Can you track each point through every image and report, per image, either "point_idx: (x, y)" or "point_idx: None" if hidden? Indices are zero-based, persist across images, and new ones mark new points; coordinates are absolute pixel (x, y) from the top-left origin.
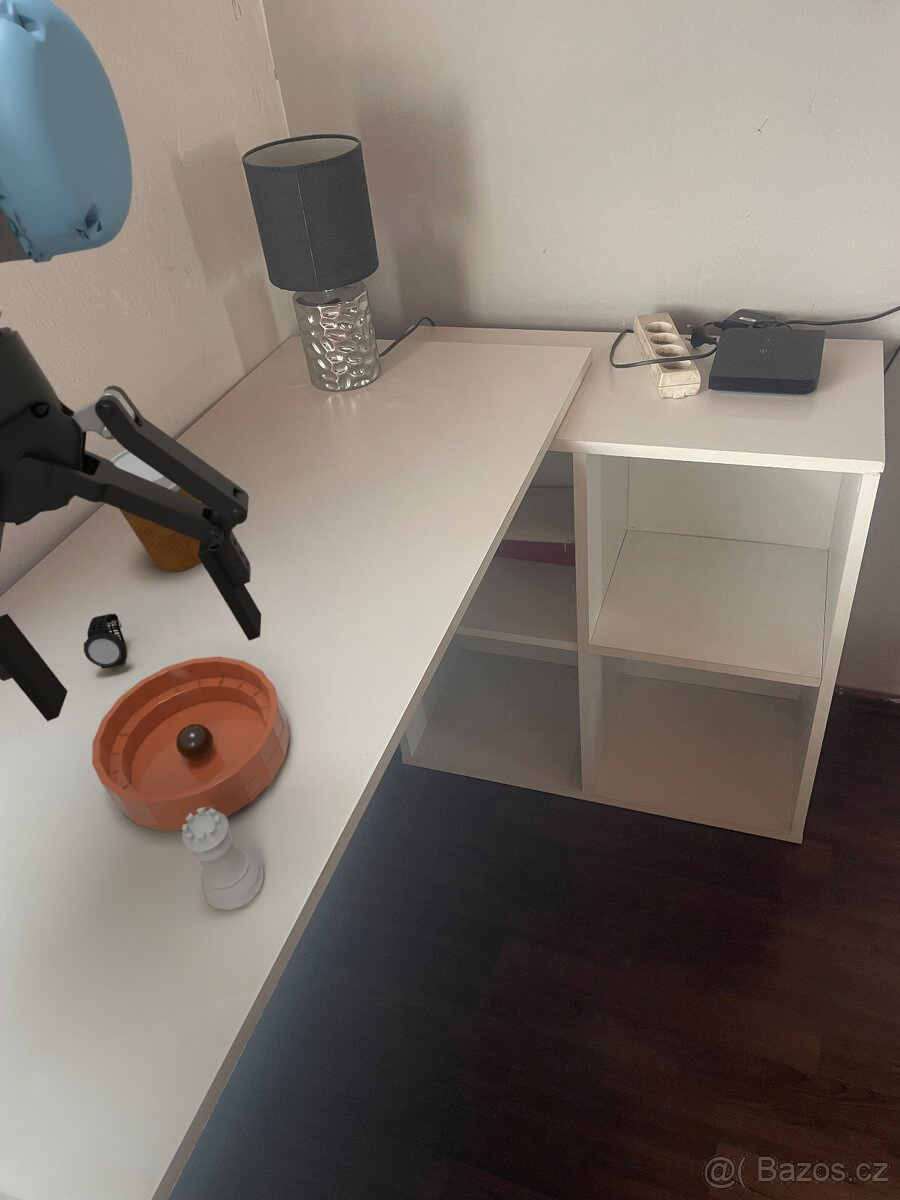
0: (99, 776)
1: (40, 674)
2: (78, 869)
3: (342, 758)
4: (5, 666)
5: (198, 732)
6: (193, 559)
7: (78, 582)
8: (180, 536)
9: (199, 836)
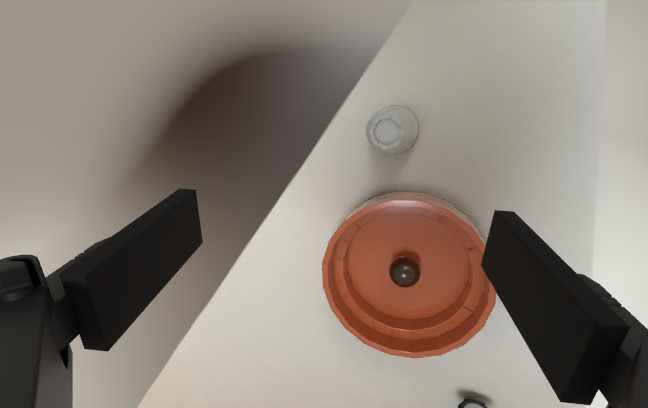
0: None
1: (511, 273)
2: (526, 196)
3: (299, 212)
4: (575, 276)
5: (396, 273)
6: None
7: None
8: None
9: (388, 115)
